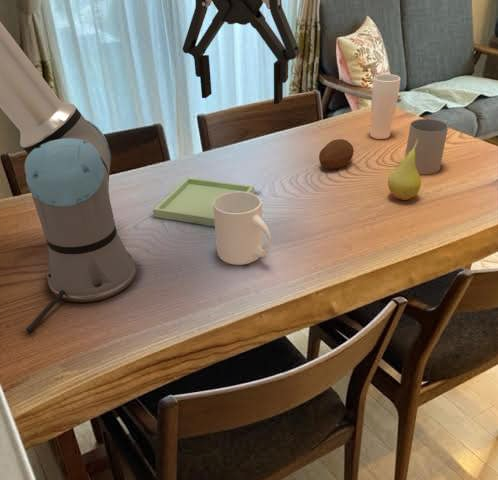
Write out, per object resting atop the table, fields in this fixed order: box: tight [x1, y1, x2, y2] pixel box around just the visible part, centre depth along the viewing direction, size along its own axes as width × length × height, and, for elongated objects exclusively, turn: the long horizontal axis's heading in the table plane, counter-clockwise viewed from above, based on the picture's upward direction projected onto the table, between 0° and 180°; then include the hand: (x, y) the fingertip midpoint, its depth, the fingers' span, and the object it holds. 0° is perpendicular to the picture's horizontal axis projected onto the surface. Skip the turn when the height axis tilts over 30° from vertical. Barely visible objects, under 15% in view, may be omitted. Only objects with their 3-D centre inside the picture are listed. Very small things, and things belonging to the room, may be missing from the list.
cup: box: [404, 118, 449, 175], centre depth 126 cm, size 8×8×10 cm
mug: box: [213, 192, 272, 266], centre depth 98 cm, size 9×12×11 cm
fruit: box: [387, 138, 422, 201], centre depth 114 cm, size 7×8×12 cm
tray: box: [152, 176, 255, 228], centre depth 117 cm, size 17×17×2 cm
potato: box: [318, 138, 355, 170], centre depth 130 cm, size 7×10×6 cm
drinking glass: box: [369, 73, 401, 140], centre depth 140 cm, size 7×7×15 cm
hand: (241, 99), depth 96 cm, fingers open, 13 cm apart
